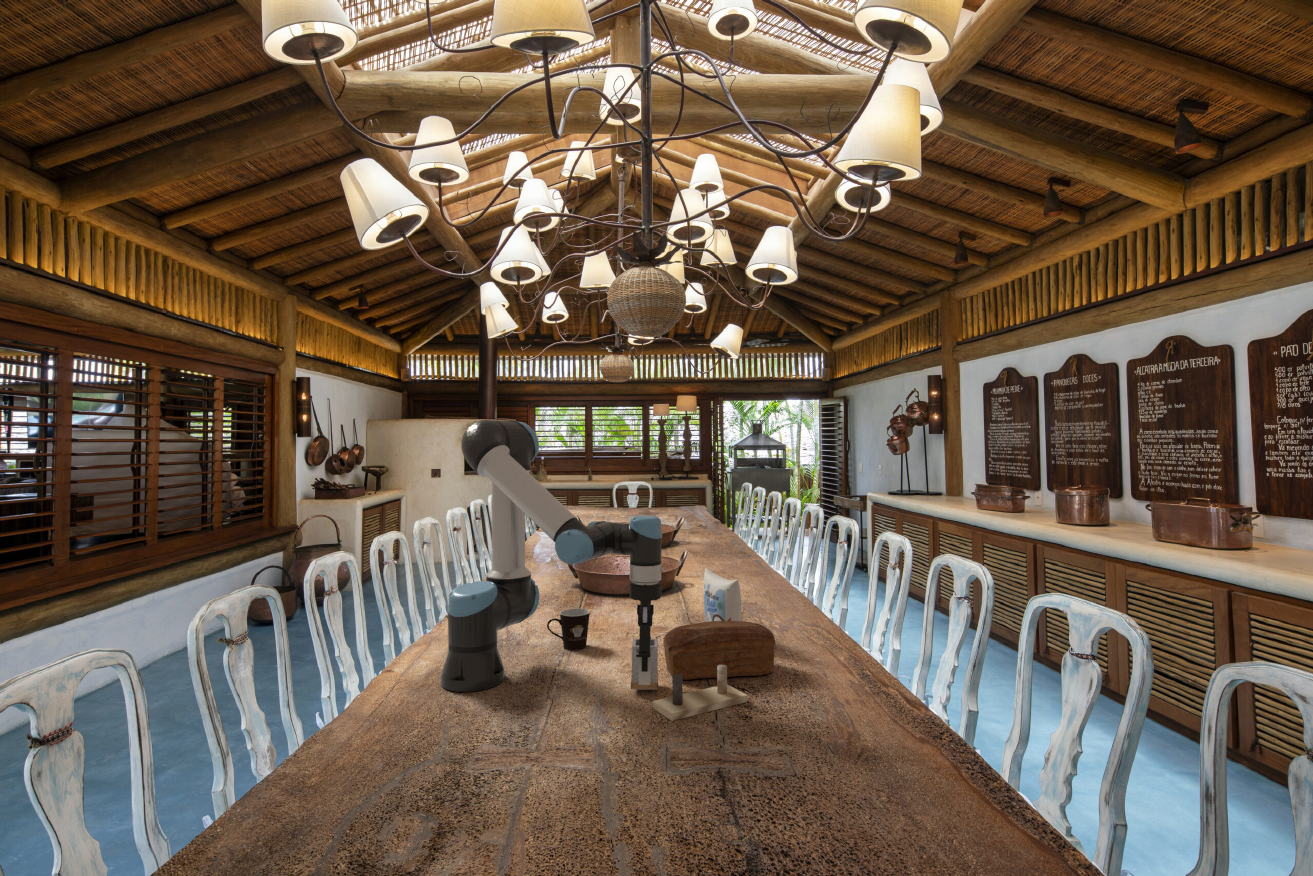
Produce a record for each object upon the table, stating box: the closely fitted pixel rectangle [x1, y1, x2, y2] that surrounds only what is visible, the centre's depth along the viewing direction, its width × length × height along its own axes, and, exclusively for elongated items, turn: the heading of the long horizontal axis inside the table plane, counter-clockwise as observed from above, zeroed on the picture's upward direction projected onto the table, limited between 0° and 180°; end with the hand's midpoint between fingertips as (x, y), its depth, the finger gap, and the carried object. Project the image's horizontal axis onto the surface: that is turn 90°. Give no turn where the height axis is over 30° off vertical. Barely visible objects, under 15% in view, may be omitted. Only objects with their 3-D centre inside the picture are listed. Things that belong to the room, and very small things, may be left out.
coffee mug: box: [546, 608, 591, 652], centre depth 188 cm, size 12×9×10 cm
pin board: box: [652, 665, 748, 722], centre depth 146 cm, size 20×8×8 cm, turn 120°
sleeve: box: [630, 638, 659, 691], centre depth 155 cm, size 6×6×10 cm
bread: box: [663, 620, 776, 681], centre depth 167 cm, size 14×28×12 cm, turn 99°
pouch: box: [703, 567, 743, 622], centre depth 193 cm, size 8×19×20 cm, turn 20°
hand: (644, 678), depth 155 cm, fingers closed on sleeve, 6 cm apart
